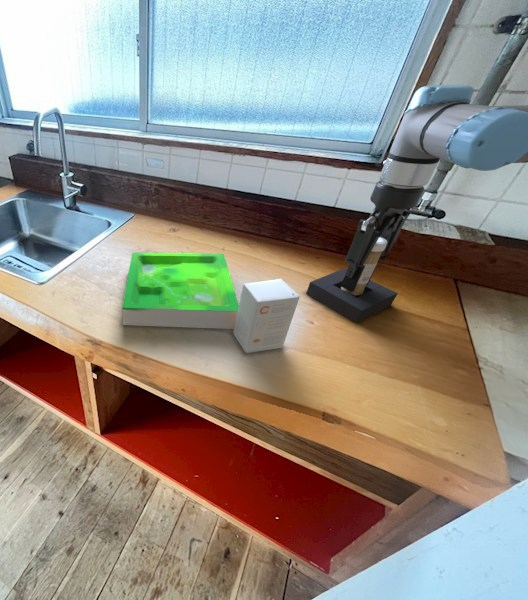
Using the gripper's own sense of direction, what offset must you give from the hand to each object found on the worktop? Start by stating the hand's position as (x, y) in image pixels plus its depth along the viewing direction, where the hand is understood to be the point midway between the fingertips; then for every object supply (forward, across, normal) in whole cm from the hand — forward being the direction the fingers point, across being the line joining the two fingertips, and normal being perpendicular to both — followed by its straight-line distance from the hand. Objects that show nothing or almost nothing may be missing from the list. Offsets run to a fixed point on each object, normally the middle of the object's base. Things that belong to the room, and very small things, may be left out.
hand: (354, 285), depth 74 cm
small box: (+4, +29, 0) cm, 29 cm away
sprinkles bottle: (+2, 0, 0) cm, 2 cm away
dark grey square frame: (+4, 0, 0) cm, 4 cm away
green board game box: (+4, +34, -22) cm, 41 cm away
